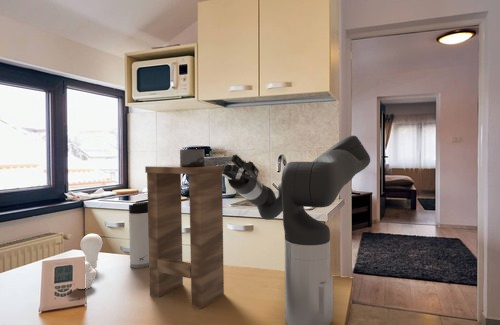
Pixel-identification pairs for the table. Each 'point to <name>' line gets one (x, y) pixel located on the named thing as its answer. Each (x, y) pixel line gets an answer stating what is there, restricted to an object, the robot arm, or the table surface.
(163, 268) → the shelf
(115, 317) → the table surface
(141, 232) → the travel mug
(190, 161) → the steel link
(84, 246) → the lightbulb
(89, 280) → the white ridged dome
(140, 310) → the table surface
